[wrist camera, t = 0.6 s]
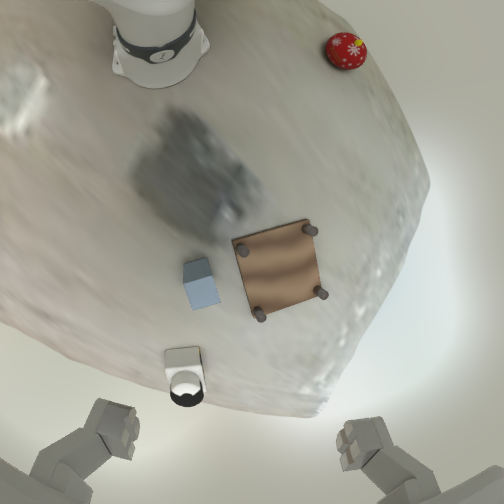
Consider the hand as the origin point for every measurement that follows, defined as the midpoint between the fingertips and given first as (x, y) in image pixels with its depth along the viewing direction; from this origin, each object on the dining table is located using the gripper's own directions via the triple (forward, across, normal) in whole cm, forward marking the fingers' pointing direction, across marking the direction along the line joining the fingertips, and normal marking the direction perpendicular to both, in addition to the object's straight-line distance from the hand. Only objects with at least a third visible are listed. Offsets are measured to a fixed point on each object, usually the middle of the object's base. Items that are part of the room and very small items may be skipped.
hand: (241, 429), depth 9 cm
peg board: (+44, -8, +13) cm, 47 cm away
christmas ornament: (+54, -16, -33) cm, 65 cm away
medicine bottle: (+38, +9, +34) cm, 51 cm away
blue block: (+41, +7, +14) cm, 44 cm away
